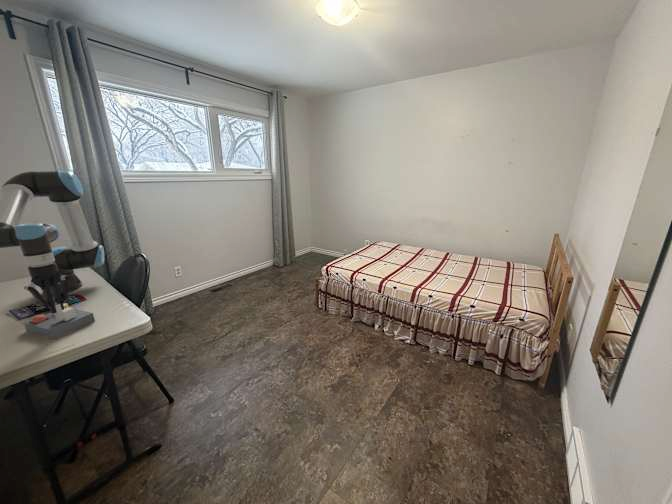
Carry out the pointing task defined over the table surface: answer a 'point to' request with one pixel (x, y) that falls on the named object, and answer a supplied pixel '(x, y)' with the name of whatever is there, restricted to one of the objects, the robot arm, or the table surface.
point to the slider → (68, 313)
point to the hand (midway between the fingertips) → (60, 318)
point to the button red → (38, 319)
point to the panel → (59, 324)
